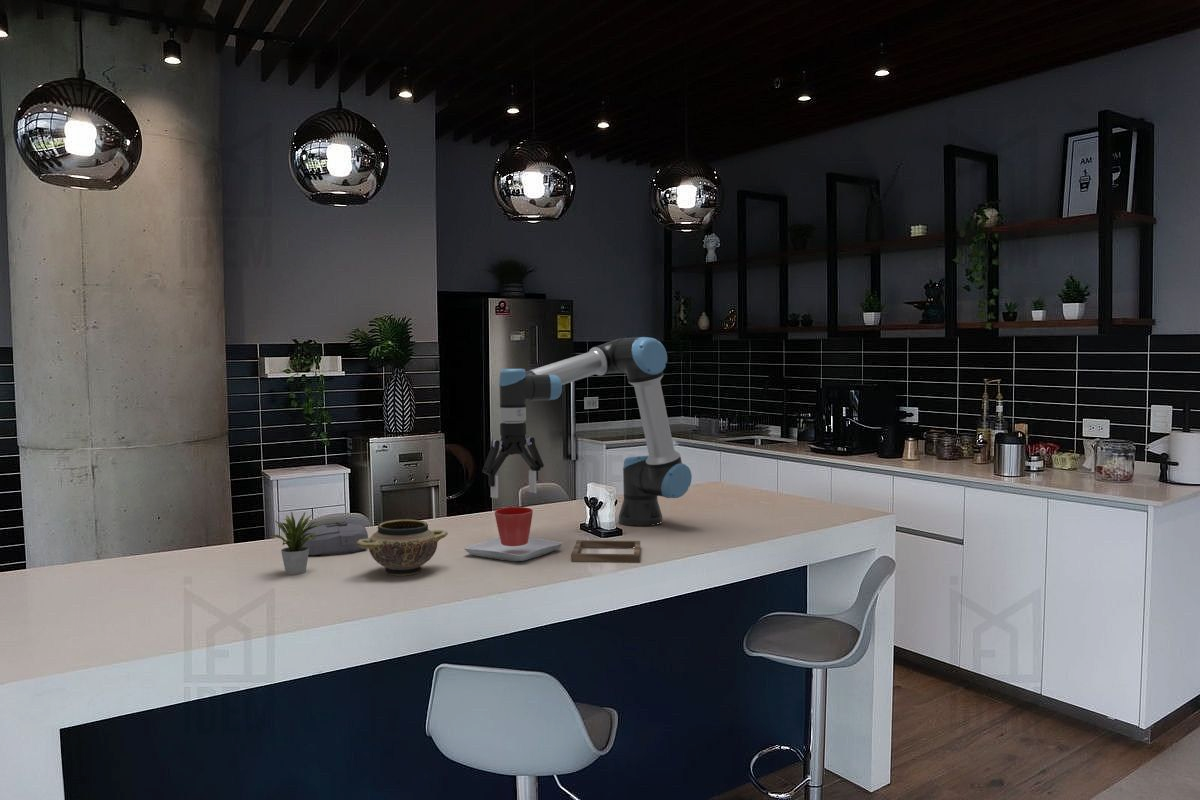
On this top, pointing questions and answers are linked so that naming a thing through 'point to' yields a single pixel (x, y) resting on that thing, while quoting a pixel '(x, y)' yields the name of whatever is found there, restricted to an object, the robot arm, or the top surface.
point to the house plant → (295, 544)
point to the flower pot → (514, 525)
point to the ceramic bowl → (402, 545)
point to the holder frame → (605, 557)
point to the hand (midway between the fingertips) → (513, 495)
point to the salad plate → (513, 549)
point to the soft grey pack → (335, 539)
